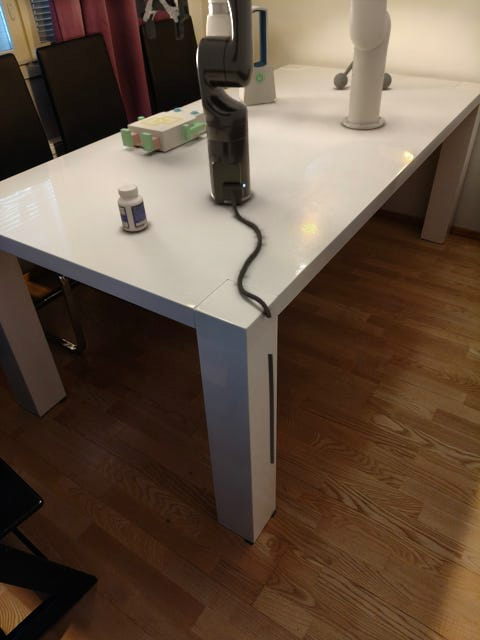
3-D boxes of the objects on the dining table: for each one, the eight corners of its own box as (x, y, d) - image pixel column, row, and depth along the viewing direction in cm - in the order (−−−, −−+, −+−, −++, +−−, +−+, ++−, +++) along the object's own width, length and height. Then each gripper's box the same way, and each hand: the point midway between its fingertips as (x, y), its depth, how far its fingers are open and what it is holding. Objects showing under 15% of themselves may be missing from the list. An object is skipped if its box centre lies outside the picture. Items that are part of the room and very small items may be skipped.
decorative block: (168, 104, 160) (216, 111, 150) (170, 124, 164) (217, 132, 154) (109, 125, 144) (159, 134, 134) (114, 147, 148) (162, 157, 138)
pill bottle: (149, 220, 107) (142, 181, 102) (146, 231, 103) (138, 191, 98) (125, 221, 107) (116, 182, 102) (121, 232, 103) (112, 193, 98)
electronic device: (244, 105, 178) (240, 9, 160) (238, 101, 184) (234, 7, 165) (276, 101, 180) (276, 5, 162) (270, 97, 186) (269, 4, 168)
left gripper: (190, -44, 111) (197, 37, 121) (142, -42, 117) (152, 36, 127) (170, -42, 106) (180, 42, 116) (121, -40, 112) (134, 40, 122)
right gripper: (250, 8, 149) (251, 73, 160) (204, 7, 156) (209, 70, 167) (238, 11, 144) (240, 78, 155) (191, 10, 151) (196, 74, 162)
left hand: (165, 39), depth 122 cm, fingers open, 8 cm apart
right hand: (224, 73), depth 161 cm, fingers closed on block, 4 cm apart
